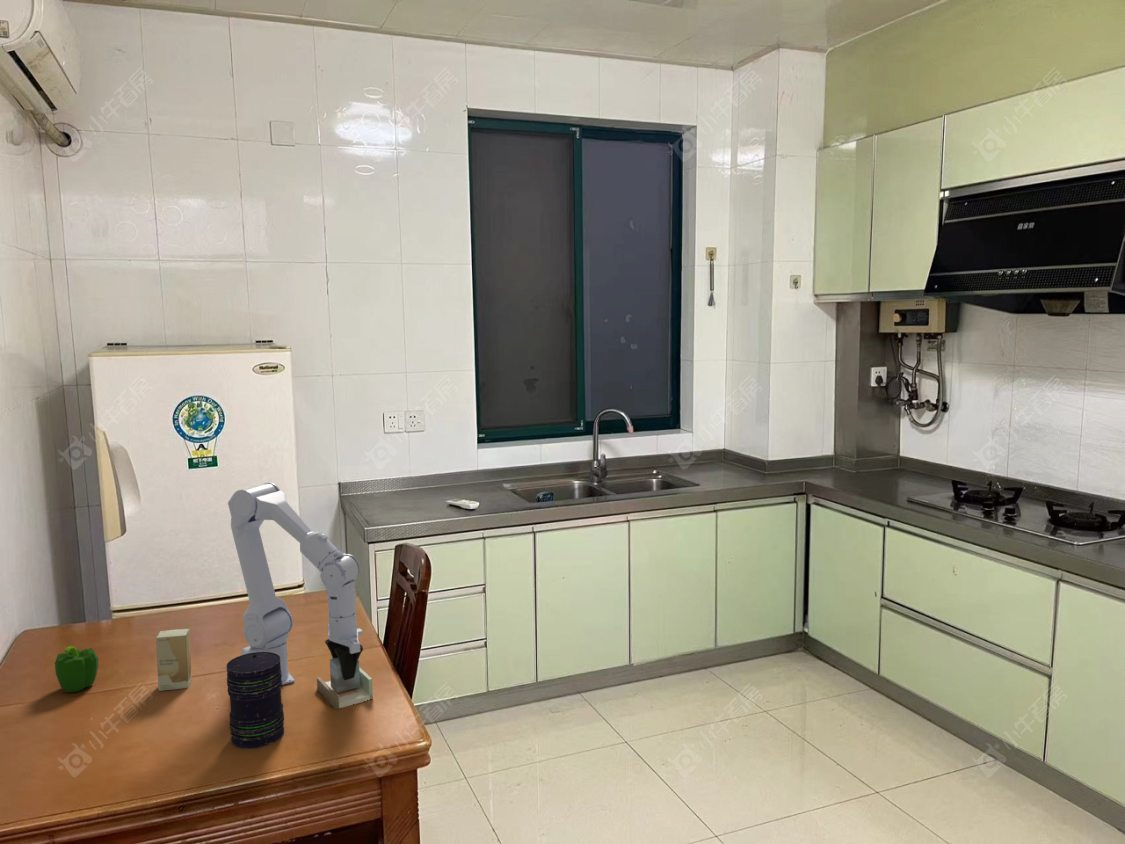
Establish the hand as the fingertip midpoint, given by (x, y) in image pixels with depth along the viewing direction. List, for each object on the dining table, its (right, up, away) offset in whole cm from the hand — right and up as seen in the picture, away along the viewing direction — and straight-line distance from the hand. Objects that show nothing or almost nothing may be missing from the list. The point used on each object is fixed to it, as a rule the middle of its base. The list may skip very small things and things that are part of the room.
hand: (345, 674), depth 175 cm
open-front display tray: (0, -4, 0) cm, 4 cm away
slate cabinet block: (0, -3, 0) cm, 3 cm away
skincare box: (-39, -4, +5) cm, 39 cm away
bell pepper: (-60, -5, +5) cm, 61 cm away
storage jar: (-12, -7, -17) cm, 22 cm away
